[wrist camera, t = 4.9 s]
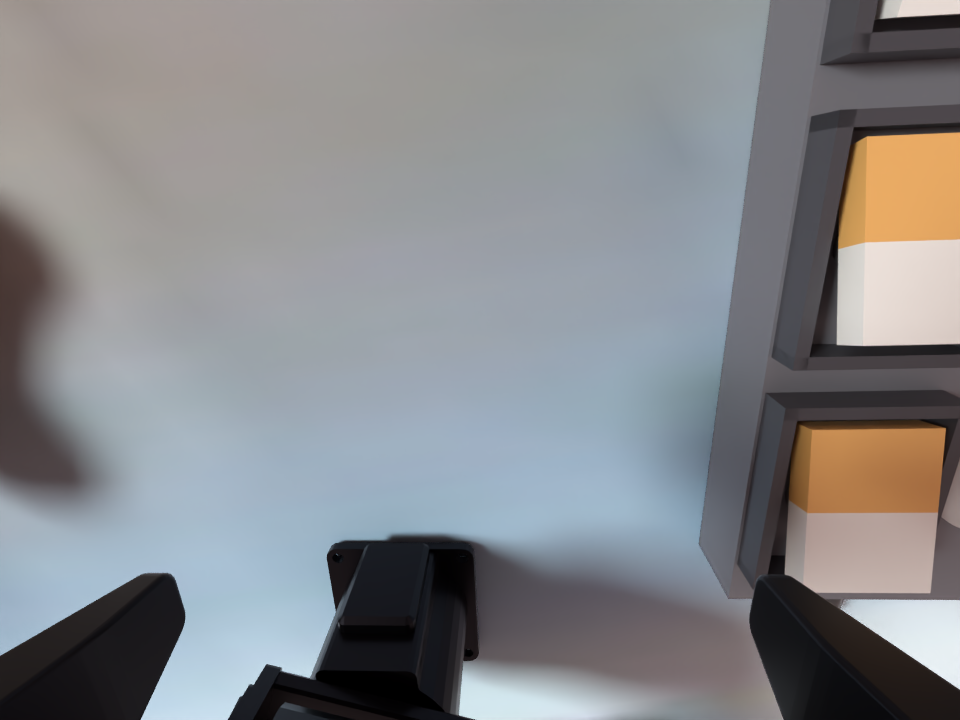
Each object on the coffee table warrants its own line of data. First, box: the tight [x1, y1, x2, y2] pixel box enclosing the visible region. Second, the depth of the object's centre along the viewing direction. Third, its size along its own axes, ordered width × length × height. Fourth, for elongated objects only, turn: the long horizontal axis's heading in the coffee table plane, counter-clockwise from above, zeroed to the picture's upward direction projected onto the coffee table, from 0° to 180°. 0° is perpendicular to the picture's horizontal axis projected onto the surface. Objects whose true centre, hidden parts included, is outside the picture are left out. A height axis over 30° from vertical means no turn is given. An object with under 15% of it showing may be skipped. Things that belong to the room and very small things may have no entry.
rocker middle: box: [832, 133, 960, 346], centre depth 13 cm, size 5×4×1 cm
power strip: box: [699, 0, 960, 609], centre depth 15 cm, size 29×10×4 cm, turn 2°
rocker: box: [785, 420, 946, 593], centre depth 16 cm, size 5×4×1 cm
